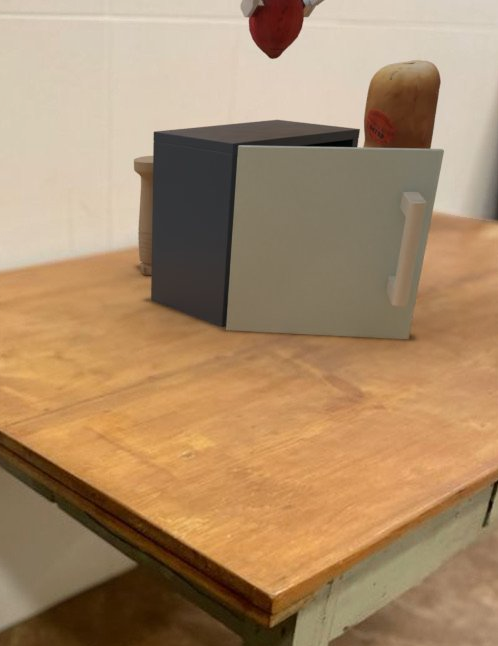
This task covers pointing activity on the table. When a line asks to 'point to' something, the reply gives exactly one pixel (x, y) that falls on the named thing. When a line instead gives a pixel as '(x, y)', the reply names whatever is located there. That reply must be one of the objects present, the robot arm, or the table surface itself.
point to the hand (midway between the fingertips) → (273, 12)
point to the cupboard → (209, 206)
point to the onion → (277, 26)
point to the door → (330, 239)
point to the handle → (145, 212)
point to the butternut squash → (402, 106)
